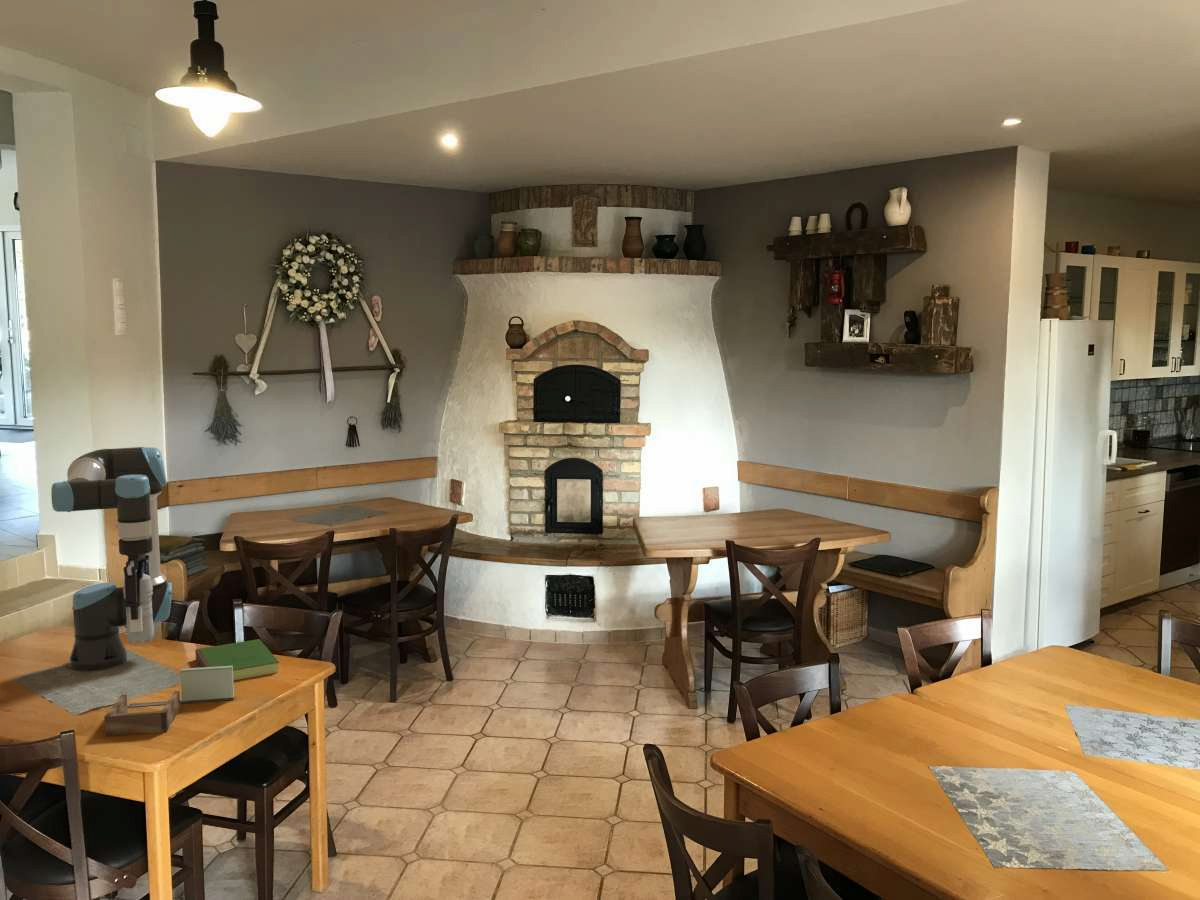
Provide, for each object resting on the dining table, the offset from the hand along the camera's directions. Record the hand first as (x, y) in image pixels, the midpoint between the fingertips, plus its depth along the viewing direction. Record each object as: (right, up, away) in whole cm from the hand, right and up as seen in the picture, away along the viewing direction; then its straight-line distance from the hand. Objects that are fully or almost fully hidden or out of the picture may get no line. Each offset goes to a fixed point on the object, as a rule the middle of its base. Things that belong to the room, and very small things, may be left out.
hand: (140, 626), depth 237 cm
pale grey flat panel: (+10, -23, +16) cm, 30 cm away
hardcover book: (+8, -20, +42) cm, 48 cm away
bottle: (0, -4, 0) cm, 4 cm away
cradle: (+6, -24, +6) cm, 25 cm away
